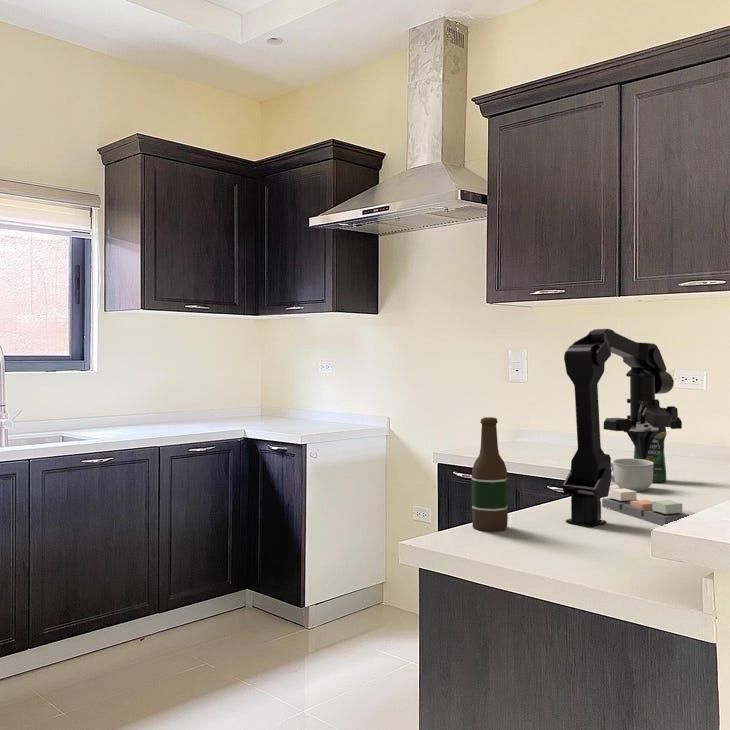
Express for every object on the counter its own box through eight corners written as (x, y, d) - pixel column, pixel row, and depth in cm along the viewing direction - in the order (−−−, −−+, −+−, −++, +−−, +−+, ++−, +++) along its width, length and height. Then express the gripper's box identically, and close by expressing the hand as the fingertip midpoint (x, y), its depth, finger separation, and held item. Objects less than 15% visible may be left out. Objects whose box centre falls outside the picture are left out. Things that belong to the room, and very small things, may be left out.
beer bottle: (503, 523, 166) (502, 416, 165) (511, 531, 158) (510, 418, 158) (469, 524, 165) (468, 416, 165) (475, 532, 158) (474, 419, 157)
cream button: (636, 499, 180) (636, 491, 180) (620, 500, 178) (620, 492, 178) (625, 496, 184) (625, 488, 184) (609, 497, 183) (609, 489, 183)
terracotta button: (658, 511, 172) (658, 503, 172) (642, 513, 171) (642, 504, 171) (646, 508, 176) (646, 499, 176) (630, 509, 175) (630, 500, 175)
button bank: (691, 524, 163) (691, 515, 163) (664, 526, 161) (664, 517, 161) (626, 504, 186) (626, 496, 186) (602, 506, 184) (602, 498, 184)
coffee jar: (631, 482, 220) (631, 419, 220) (632, 478, 227) (632, 417, 227) (666, 483, 216) (666, 420, 216) (666, 479, 223) (666, 418, 223)
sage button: (682, 512, 164) (682, 503, 164) (665, 513, 163) (665, 504, 163) (668, 508, 169) (668, 499, 169) (652, 510, 167) (652, 501, 167)
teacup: (656, 488, 209) (656, 459, 209) (650, 494, 200) (649, 464, 200) (606, 484, 216) (606, 456, 216) (597, 490, 207) (597, 461, 207)
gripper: (630, 397, 171) (630, 465, 171) (697, 395, 177) (698, 461, 177) (602, 395, 182) (602, 459, 182) (666, 393, 187) (666, 455, 187)
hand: (643, 458), depth 182 cm, fingers closed
